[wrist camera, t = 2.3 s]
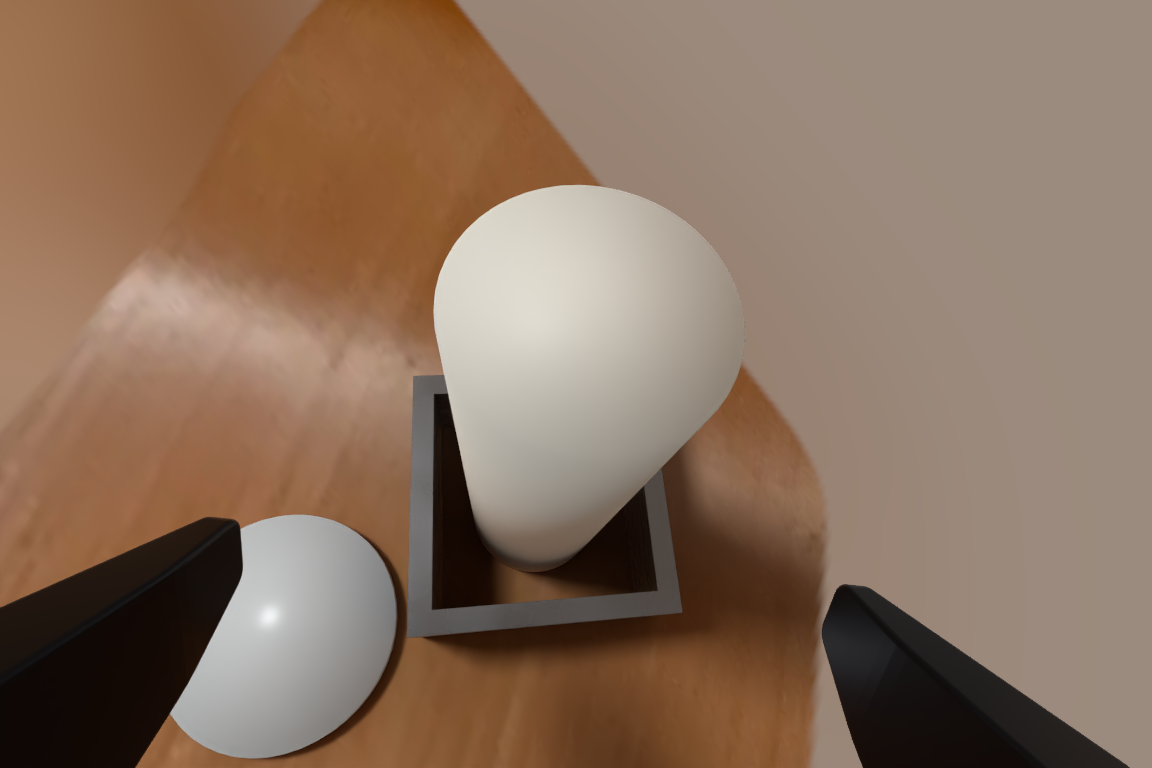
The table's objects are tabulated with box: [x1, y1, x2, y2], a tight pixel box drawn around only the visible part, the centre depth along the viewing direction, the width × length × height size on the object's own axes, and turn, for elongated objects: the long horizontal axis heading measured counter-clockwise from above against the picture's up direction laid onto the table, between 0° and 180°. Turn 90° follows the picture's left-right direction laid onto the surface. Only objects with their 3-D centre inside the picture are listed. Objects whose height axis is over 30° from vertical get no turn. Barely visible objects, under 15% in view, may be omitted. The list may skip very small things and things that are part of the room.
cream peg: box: [434, 185, 745, 572], centre depth 13 cm, size 4×4×13 cm
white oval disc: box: [170, 515, 398, 758], centre depth 17 cm, size 6×6×1 cm
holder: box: [407, 375, 683, 638], centre depth 18 cm, size 7×7×3 cm
